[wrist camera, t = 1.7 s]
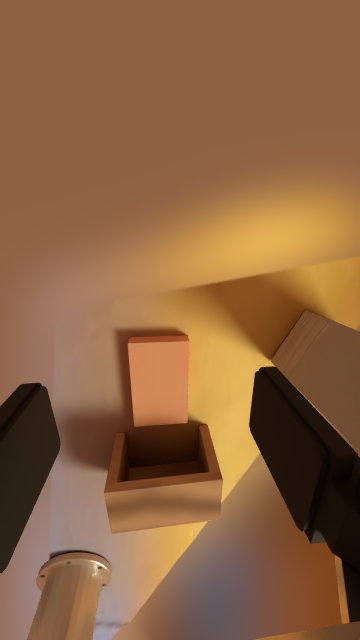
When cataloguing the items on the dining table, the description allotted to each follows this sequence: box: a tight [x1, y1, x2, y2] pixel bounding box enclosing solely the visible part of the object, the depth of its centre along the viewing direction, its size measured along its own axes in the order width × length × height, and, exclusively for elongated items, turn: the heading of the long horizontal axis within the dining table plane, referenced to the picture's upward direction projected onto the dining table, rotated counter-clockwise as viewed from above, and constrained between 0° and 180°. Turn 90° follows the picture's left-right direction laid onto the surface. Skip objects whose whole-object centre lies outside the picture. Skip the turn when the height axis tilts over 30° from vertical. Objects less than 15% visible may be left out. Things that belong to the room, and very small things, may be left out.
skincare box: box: [271, 310, 360, 452], centre depth 22 cm, size 8×7×16 cm
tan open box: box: [104, 425, 223, 534], centre depth 30 cm, size 8×13×8 cm, turn 91°
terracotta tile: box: [128, 335, 189, 427], centre depth 29 cm, size 12×7×2 cm, turn 0°
